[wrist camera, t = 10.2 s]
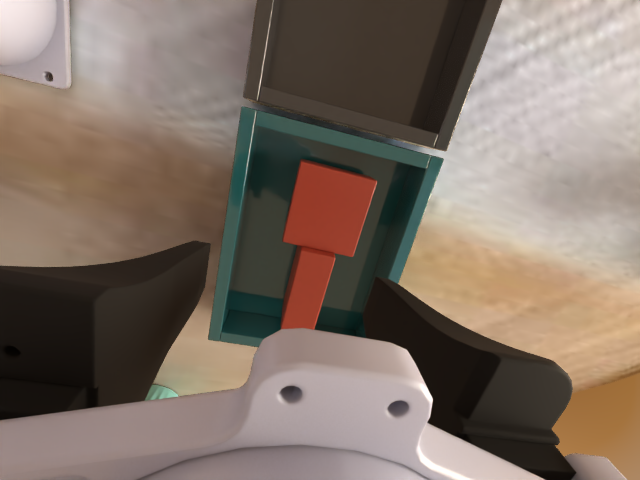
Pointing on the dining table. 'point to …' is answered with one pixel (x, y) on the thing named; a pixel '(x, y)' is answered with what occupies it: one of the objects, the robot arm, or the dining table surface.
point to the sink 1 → (271, 213)
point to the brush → (321, 234)
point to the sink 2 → (370, 62)
